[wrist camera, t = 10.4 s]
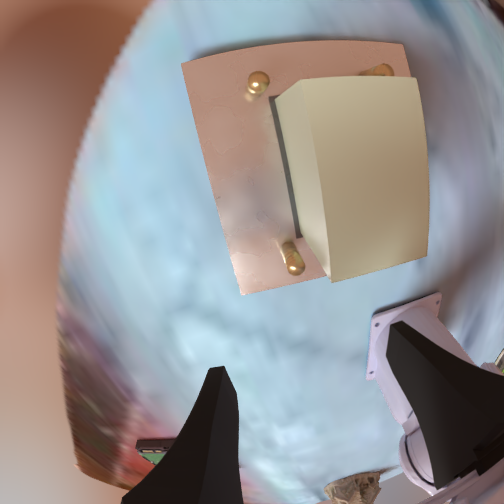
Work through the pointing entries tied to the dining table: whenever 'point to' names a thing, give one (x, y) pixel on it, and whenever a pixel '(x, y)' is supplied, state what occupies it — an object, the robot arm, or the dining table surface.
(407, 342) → the robot arm
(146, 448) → the disk drive
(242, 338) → the dining table surface
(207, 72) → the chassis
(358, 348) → the dining table surface
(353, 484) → the ceramic cottage
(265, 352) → the dining table surface
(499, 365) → the coffee can
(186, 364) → the dining table surface
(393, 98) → the block
